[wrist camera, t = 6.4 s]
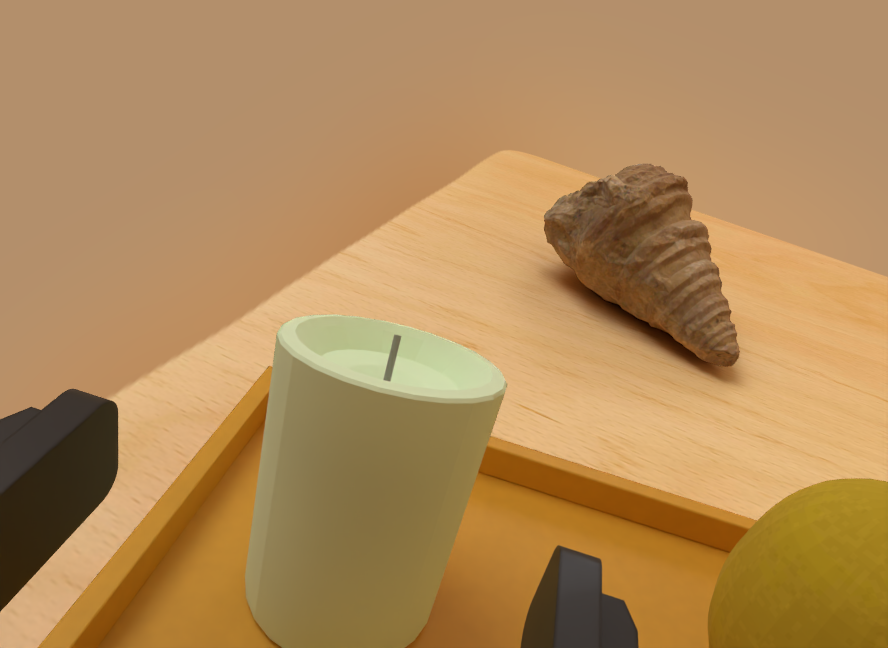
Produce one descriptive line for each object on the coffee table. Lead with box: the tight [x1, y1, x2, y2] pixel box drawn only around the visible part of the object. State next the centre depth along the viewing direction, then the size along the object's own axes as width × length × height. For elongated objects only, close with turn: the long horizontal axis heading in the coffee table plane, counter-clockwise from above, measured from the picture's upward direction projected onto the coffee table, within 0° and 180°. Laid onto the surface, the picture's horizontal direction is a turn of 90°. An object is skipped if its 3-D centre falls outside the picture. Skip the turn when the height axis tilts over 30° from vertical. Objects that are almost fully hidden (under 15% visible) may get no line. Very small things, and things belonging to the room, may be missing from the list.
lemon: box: [708, 478, 888, 648], centre depth 16 cm, size 6×6×8 cm
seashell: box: [544, 164, 740, 366], centre depth 38 cm, size 14×8×8 cm
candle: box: [245, 315, 507, 648], centre depth 17 cm, size 5×5×8 cm
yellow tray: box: [38, 366, 757, 648], centre depth 18 cm, size 21×13×2 cm, turn 78°
